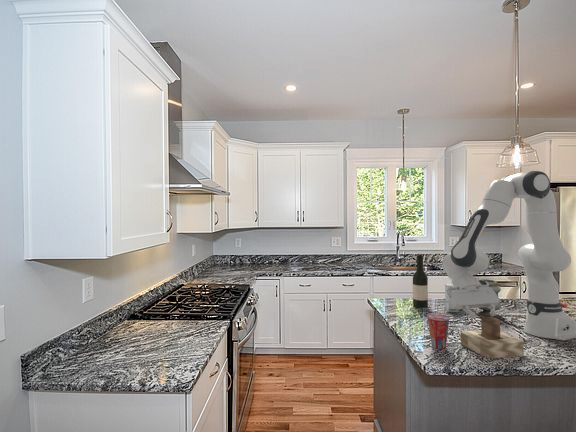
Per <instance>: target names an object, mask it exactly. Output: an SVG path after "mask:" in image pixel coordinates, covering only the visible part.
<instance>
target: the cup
mask: <svg viewBox="0 0 576 432" xmlns="http://www.w3.org/2000/svg"><path fill="white" fill-rule="evenodd" d="M426 317H427V321H428V323H427V324H428V329H429V330H428V331H429V337H430V342H431V343H430V344H431V348H433V349H437V350H444V349H445V350H446V348H447V347H446V346H447V341H448V335H449V334H448V332H449V322H450V319H451V317H450V316H449V315H446V314H440V313H427V314H426Z"/></svg>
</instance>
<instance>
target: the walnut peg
mask: <svg viewBox="0 0 576 432" xmlns="http://www.w3.org/2000/svg"><path fill="white" fill-rule="evenodd" d="M480 320H481V321H480V322H481V323H480V327H481V329H480V330H481V336H482V337H484V338H486V339H489V340H496V339H500V332H501V319H499V318H498V317H497V318H494V317H482V316H480Z"/></svg>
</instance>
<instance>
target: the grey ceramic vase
mask: <svg viewBox="0 0 576 432" xmlns="http://www.w3.org/2000/svg"><path fill="white" fill-rule="evenodd" d="M480 280H483V281H487V282H488V283H489V286H488V287H490V288H492V289H493V290H494V292H495V293H496V294H497V296H498V297H499V293H500V292H501V291H502V290H501V286H499V284H498V282H497V280H495V279H487V278H485V279H484V278H483V279H480ZM478 309H479V310H481V311H478V312H476V316H479V317H494V318H497V319H498V318H499V315H498V314H497V315H496V316H491V314H490V312H491V309H489V308H488V307H481V308H478ZM500 309H502V304H501V301H500V302H499V304H498V305H497V306H495V311H496V312H497V311H499V310H500Z"/></svg>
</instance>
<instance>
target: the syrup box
mask: <svg viewBox="0 0 576 432" xmlns="http://www.w3.org/2000/svg"><path fill="white" fill-rule="evenodd" d="M448 288H454V286H453V284H452V283H445V284H444V290H445V292H444V295H445V297H444V299H445V300H444V301H445V302H444V303H445V310H446V311H447V312H448V313H459V312H460V309H455V308H454V307H453V306H452V304H451V301H450V298H449V296H448V294H447V289H448Z"/></svg>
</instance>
